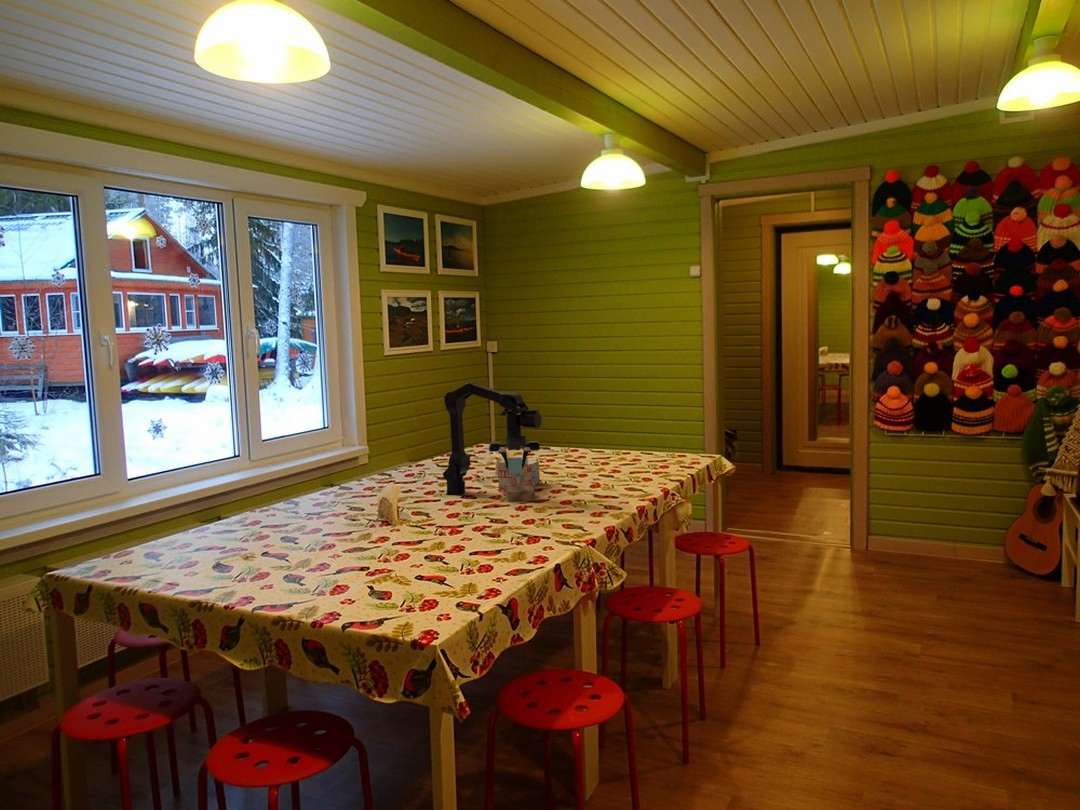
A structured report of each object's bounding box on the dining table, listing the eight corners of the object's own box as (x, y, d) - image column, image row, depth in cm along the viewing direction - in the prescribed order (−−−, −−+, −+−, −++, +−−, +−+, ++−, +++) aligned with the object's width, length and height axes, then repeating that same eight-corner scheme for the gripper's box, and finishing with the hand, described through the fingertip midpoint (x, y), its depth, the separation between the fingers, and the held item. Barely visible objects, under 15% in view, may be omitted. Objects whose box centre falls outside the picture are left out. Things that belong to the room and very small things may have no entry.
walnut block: (507, 502, 298) (507, 492, 298) (505, 497, 308) (505, 486, 307) (534, 501, 299) (534, 490, 299) (531, 495, 309) (531, 485, 309)
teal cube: (508, 473, 299) (508, 459, 298) (508, 470, 304) (508, 457, 303) (522, 472, 299) (521, 459, 299) (522, 470, 304) (521, 457, 304)
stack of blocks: (526, 482, 333) (526, 452, 332) (540, 483, 330) (539, 453, 329) (498, 492, 315) (497, 461, 314) (512, 494, 312) (511, 462, 311)
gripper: (487, 431, 292) (489, 474, 293) (539, 429, 292) (540, 472, 294) (489, 427, 303) (490, 468, 304) (539, 425, 303) (540, 466, 305)
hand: (515, 469), depth 302 cm, fingers closed on teal cube, 5 cm apart
